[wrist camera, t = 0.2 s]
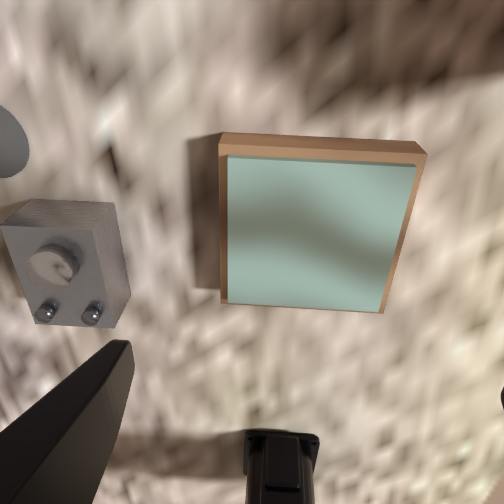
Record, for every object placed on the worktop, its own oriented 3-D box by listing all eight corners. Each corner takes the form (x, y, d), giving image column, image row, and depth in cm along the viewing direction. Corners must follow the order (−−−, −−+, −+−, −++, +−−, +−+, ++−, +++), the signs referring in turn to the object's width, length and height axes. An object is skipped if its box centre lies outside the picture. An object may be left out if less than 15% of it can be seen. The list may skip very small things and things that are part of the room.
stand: (376, 293, 26) (385, 319, 24) (224, 283, 26) (219, 308, 24) (415, 141, 20) (430, 157, 18) (223, 132, 21) (216, 147, 19)
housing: (132, 293, 27) (108, 340, 24) (61, 289, 28) (26, 335, 24) (115, 201, 24) (84, 239, 20) (33, 197, 24) (-13, 234, 20)
